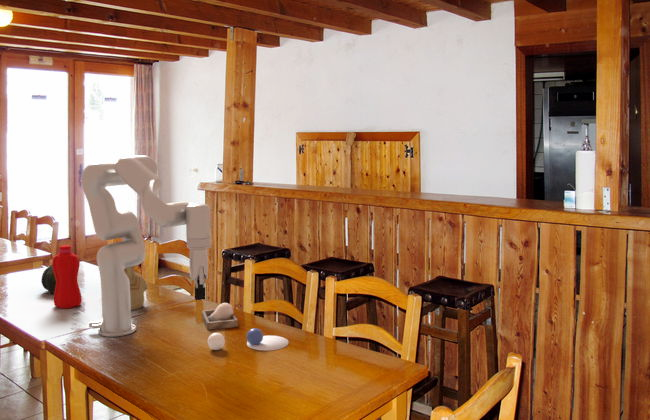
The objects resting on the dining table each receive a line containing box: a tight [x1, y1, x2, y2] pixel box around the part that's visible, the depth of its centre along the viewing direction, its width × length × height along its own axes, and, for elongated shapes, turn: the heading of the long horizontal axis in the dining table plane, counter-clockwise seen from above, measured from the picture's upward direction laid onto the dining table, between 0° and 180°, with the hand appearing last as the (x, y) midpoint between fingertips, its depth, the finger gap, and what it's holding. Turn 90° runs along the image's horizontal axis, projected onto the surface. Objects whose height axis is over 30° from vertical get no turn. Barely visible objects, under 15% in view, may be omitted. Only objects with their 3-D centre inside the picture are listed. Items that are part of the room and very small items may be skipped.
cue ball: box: [207, 332, 226, 351], centre depth 192 cm, size 6×6×6 cm
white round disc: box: [246, 335, 290, 352], centre depth 198 cm, size 14×14×1 cm
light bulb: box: [207, 302, 234, 322], centre depth 220 cm, size 7×7×11 cm
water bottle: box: [51, 244, 82, 310], centre depth 239 cm, size 9×11×25 cm
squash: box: [41, 264, 56, 295], centre depth 262 cm, size 14×15×15 cm
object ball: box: [246, 327, 264, 345], centre depth 196 cm, size 6×6×6 cm
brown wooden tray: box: [201, 308, 239, 331], centre depth 220 cm, size 11×16×2 cm
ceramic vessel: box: [124, 266, 148, 311], centre depth 237 cm, size 17×20×25 cm
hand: (200, 299), depth 189 cm, fingers closed
